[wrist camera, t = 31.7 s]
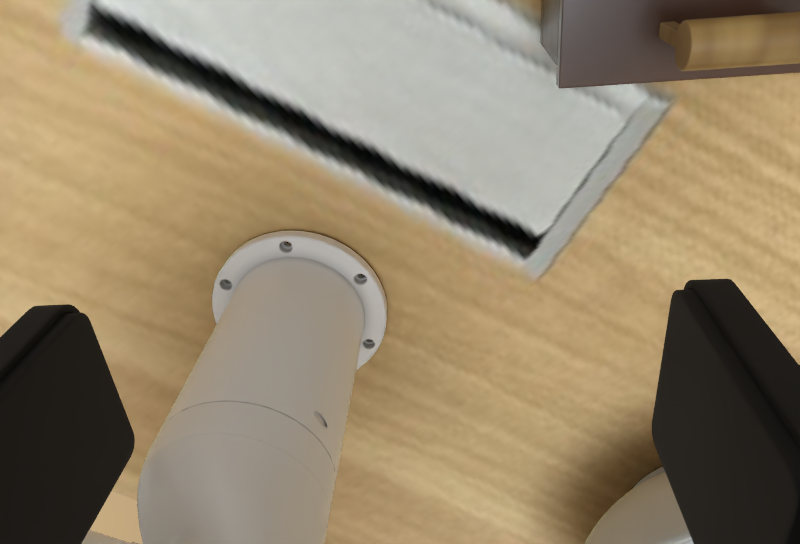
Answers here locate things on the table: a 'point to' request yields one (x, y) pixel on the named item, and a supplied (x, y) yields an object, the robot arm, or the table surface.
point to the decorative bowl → (643, 516)
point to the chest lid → (675, 40)
